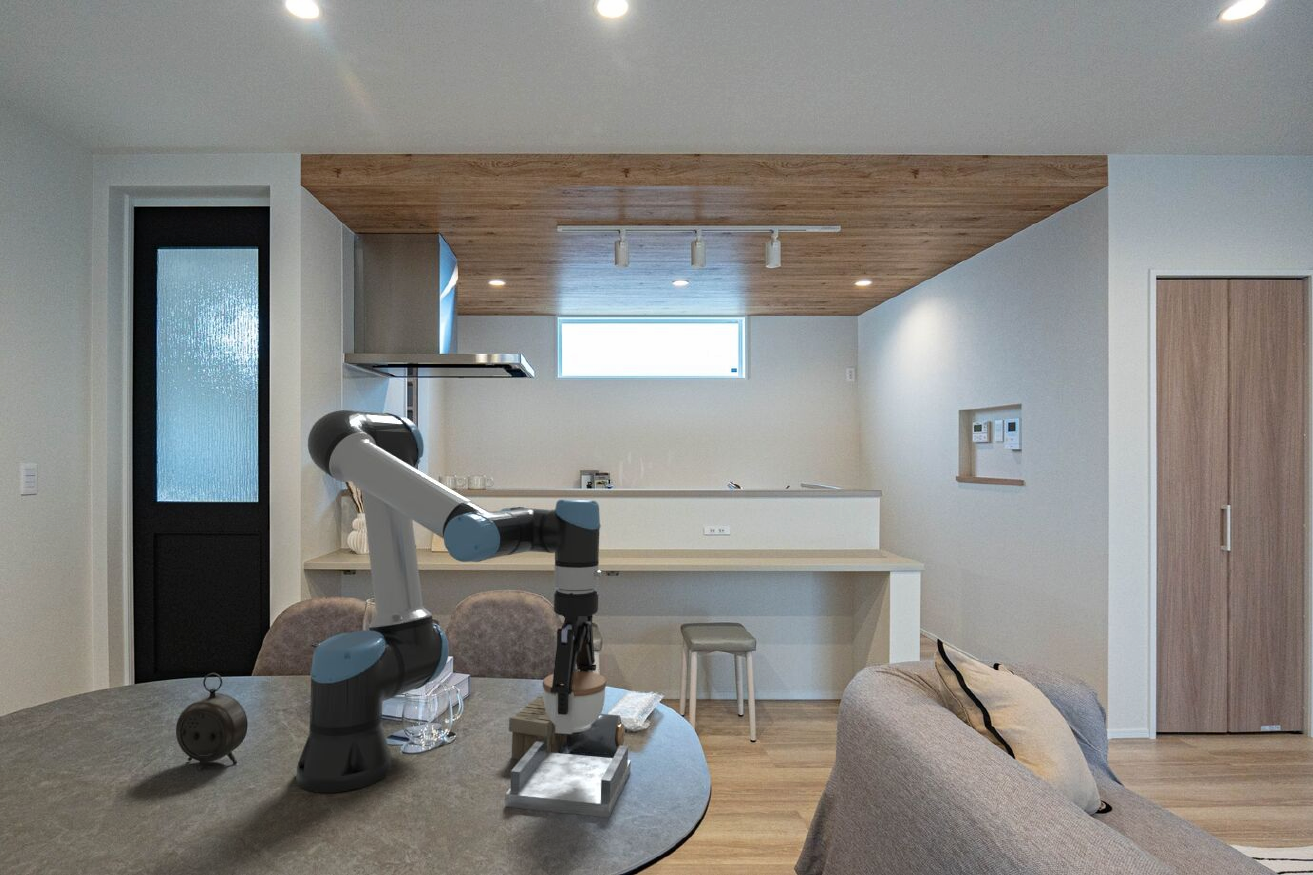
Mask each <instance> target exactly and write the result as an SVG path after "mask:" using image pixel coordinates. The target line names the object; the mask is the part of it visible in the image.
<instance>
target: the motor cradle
mask: <svg viewBox="0 0 1313 875" xmlns="http://www.w3.org/2000/svg"><path fill="white" fill-rule="evenodd" d="M625 729H626V727H625V724H624V723H622V719H621V715H620V714H607V713H601V714H600V716H599V717H598V719H597V720H596V721H595V722H594V723H593V724H592V726H591V728H590V729H588V730H586V731H582V732H573V733H572V734H567V736H566V743H565V744H566V747H567V748H566V749H567V751H569V752H576V753H577V752H578V753H588V754H589V753H590V754H600V755H611V756H612V757H601V756H591V755H580V754H571V753H570V754H569V753H559V752H557V753H549V752H546V748H547V739H541V738H539V739H538V740H537V741H536V742H535V743H534V744H533V746H532V747H531V748H530V749H529V750H528V752H527V753H526V754H525V755H524V756H523V757H522V759H519V761H518V762H517V763H516V764H515V766H514V767H513V768H512V769H511V770H510V788H508V789H507V791H506V793H505V799H504V800H505V801H504V804H505V805H504V807H505V808H513V809H514V808H516V809H525V810H532V811H542V812H552V813H553V812H554V813H563V814H571V815H580V816H581V815H582V816H590V817H598V818H599V817H601V818H607V819H608V818H610V816H611V815H612V812H613V810H614V808H615V806H616V804H617V801H618V799H619V796H620V794H621V793H622V791H623V788H624V786H625V784H626V782H627V779H628V778H629V775H630V773H631V766H632V763H631V762H632V761H631V759H629V746H628V745H624V742H625V735H626V733H625V732H626V730H625Z"/></svg>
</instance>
